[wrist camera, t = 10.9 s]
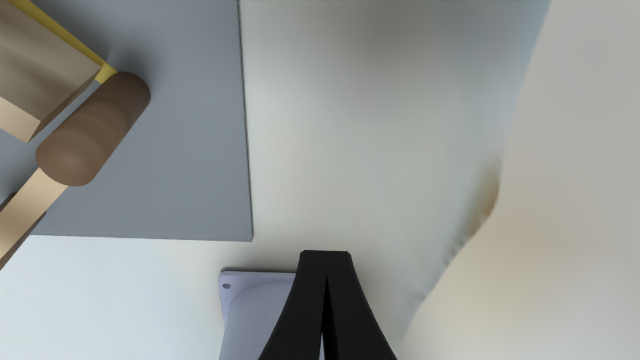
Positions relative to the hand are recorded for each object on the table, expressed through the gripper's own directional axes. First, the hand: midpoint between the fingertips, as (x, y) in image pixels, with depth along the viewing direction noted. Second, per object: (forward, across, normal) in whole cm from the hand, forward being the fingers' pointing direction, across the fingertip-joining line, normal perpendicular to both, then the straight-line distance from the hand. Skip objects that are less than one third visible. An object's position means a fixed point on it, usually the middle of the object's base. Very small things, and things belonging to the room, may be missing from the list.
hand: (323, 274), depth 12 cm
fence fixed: (+10, +13, +3) cm, 16 cm away
